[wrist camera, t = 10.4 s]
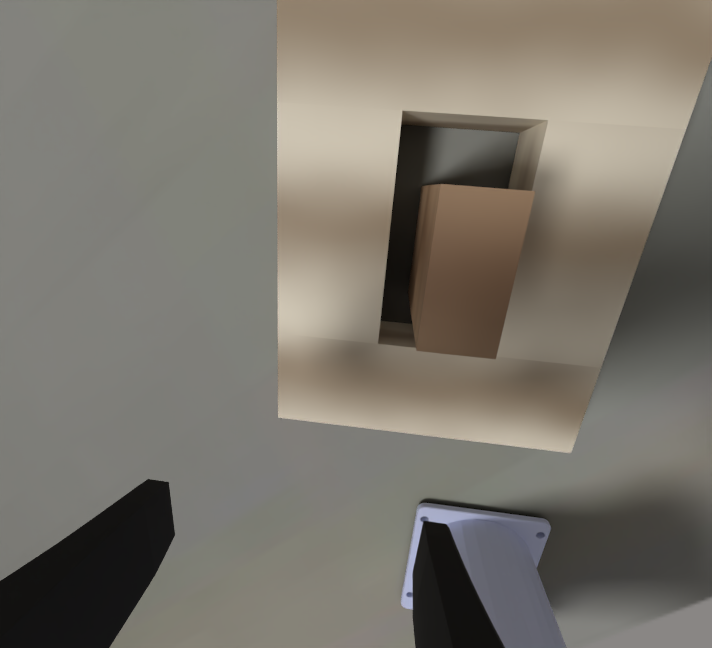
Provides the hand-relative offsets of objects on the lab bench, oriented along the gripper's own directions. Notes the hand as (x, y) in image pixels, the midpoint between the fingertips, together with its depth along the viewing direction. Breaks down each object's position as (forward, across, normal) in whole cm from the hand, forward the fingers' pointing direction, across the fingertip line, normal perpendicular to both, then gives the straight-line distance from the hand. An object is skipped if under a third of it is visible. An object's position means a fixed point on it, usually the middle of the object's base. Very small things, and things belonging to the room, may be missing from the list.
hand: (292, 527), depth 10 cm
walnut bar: (+10, -4, -7) cm, 13 cm away
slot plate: (+10, -4, -7) cm, 13 cm away
